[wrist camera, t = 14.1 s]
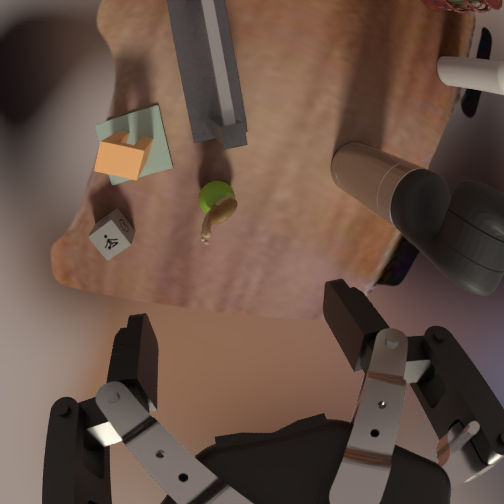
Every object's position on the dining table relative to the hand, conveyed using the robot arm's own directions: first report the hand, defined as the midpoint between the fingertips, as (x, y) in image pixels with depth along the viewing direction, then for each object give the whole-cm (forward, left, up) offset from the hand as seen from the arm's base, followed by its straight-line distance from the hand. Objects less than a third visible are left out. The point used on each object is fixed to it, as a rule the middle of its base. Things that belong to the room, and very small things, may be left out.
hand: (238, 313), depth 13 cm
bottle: (-52, -12, -36) cm, 64 cm away
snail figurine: (-1, +7, -36) cm, 36 cm away
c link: (+9, -4, -35) cm, 37 cm away
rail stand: (-4, -15, -36) cm, 39 cm away
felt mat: (+9, -4, -36) cm, 37 cm away
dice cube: (+16, +8, -36) cm, 40 cm away
